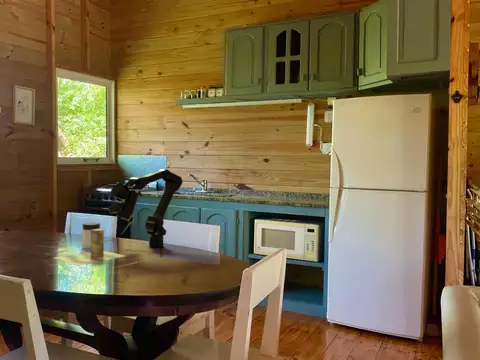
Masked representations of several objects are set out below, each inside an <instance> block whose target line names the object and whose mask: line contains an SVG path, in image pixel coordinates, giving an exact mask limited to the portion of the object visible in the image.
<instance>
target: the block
mask: <svg viewBox="0 0 480 360" xmlns="http://www.w3.org/2000/svg"><path fill="white" fill-rule="evenodd" d="M104 234H105V231H104V229H101V228H100V229H93V230H91V248H90V251H91V257H94V258H98V257H104V251H105V250H104V247H105V242H104V240H105V239H104V238H105V237H104V236H105V235H104Z"/></svg>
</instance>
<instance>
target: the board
mask: <svg viewBox="0 0 480 360" xmlns="http://www.w3.org/2000/svg"><path fill="white" fill-rule="evenodd" d="M124 257H125V255H124V254H119V253H115V252H112V251H111V252H110V251H107V250H104V257H98V258H94V257H91V250H90V251H83V252H79V253H73V254H67V255H61V256H56V257H53V259H54V260H58V261H62V262H65V263H69V264H72V265H75V266H83V265H89V264H92V263H98V262H103V261H108V260H114V259H118V258H124Z"/></svg>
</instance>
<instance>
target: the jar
mask: <svg viewBox="0 0 480 360" xmlns="http://www.w3.org/2000/svg"><path fill="white" fill-rule="evenodd" d="M93 229H101V223H100V222H94V221H93V222H84V223H82V228H81V248H82V249H91V230H93Z"/></svg>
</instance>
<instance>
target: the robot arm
mask: <svg viewBox="0 0 480 360" xmlns="http://www.w3.org/2000/svg"><path fill="white" fill-rule="evenodd" d="M161 179H162V181H164V191H163V194H162V196H161V197H160V200H159V203H158V204H157V206H156V208H155V210H154V211H155V212H154V213H153V214H152V215H148V216H147V218H146V220H145V221H144V222H145V225H144V228H145V231H146V233H147V235H149V237H148V246H149V247H150V248H151V249H155V248H156V249H157V248H165V246H164V236H166V234H167V230H166V229H165V227H164V218H165V217H164V216H165V215H166V212H167V210H168V207H169V205H170V204H171V200H172V199H173V196H174V194H175V193H176V192H177V191H179V189H180V188H181V186H182V185H183V179H182V176H180V175H178V174H176V173H174V172H172V171H170V170H169V169H167V168H160V169H159V170H156V171H154V172H151V173H148V174H145V175H143V176H133V177H130V178H128V181H126V182H125V183H124V184H122V183H121V182H116V183H115V185H114V186H112V188H111V190H110V195H111V197H114V198H115V199H116V198H117V199H119V200H122V201H123V202H122V203H121V205H117V204H116V203H114V202H113V203H111V205H109V206H108V213H109V214H110V215H114V214H115V216H116V217H117V220H118V222H119V228H118V235H119V236H122V235H123V233H124V232H125V231H126V230H127V229H128V227H129V226H130V225H131V224H134V218H133V217H134V215H133V214H134V211H135V209H136V206H137V202H138V199H139V197H141V198H142V197H143V194H142V192H141V190H143V189H144V188H146V187H147V186H148V185H149V184H151V183H154V182H156V181H159V180H161ZM119 217H120V218H119Z"/></svg>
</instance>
